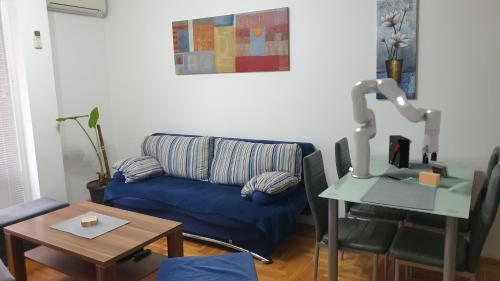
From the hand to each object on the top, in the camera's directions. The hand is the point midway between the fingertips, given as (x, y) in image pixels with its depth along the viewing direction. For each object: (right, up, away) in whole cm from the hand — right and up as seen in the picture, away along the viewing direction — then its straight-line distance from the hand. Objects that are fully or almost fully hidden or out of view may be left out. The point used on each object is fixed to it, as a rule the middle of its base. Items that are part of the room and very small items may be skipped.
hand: (429, 162), depth 218 cm
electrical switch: (+16, -11, +20) cm, 27 cm away
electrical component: (+3, -5, +54) cm, 54 cm away
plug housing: (+1, -12, +2) cm, 12 cm away
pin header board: (0, -13, +8) cm, 15 cm away
